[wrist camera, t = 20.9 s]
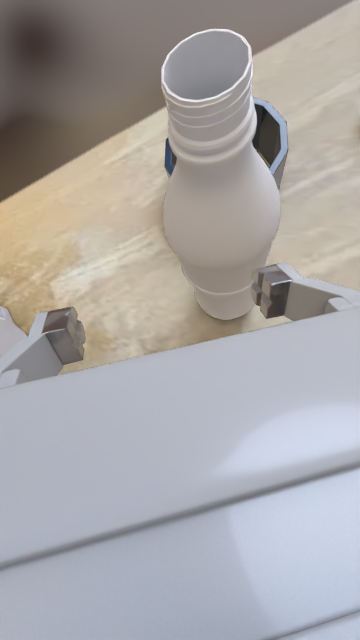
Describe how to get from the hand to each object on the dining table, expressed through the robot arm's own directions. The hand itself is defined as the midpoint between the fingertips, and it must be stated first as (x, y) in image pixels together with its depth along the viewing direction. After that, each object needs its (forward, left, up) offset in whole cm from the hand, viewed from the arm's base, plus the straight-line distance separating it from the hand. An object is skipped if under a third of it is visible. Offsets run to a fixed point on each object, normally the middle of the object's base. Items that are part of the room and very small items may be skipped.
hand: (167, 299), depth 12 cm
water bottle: (+2, +6, -20) cm, 22 cm away
